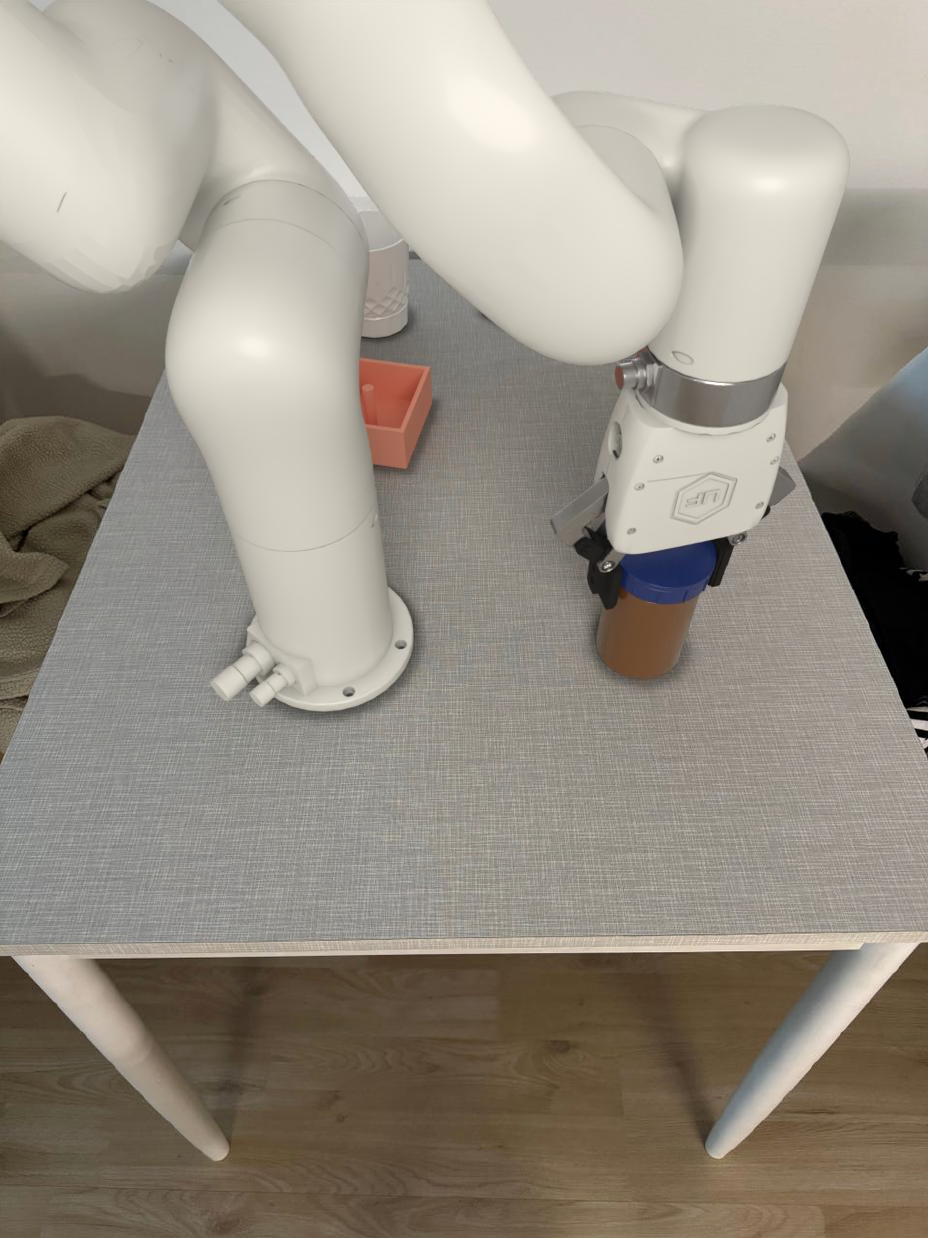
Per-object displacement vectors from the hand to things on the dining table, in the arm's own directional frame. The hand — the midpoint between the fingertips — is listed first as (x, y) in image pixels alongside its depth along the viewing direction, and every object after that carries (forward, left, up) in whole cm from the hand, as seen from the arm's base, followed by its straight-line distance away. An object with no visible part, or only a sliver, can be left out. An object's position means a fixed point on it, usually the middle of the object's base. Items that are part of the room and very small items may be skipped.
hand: (654, 581), depth 61 cm
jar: (0, 0, -7) cm, 7 cm away
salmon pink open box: (+3, +37, -8) cm, 38 cm away
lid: (0, 0, +3) cm, 3 cm away
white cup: (+18, +45, -8) cm, 49 cm away
